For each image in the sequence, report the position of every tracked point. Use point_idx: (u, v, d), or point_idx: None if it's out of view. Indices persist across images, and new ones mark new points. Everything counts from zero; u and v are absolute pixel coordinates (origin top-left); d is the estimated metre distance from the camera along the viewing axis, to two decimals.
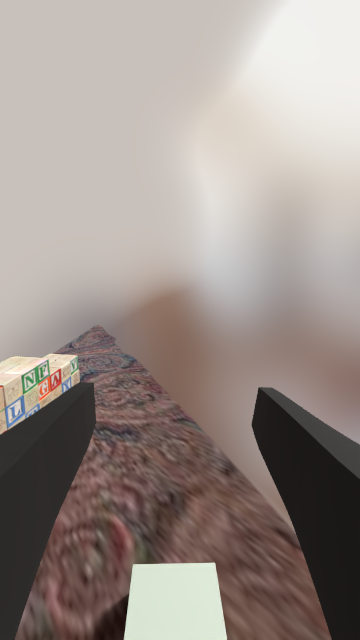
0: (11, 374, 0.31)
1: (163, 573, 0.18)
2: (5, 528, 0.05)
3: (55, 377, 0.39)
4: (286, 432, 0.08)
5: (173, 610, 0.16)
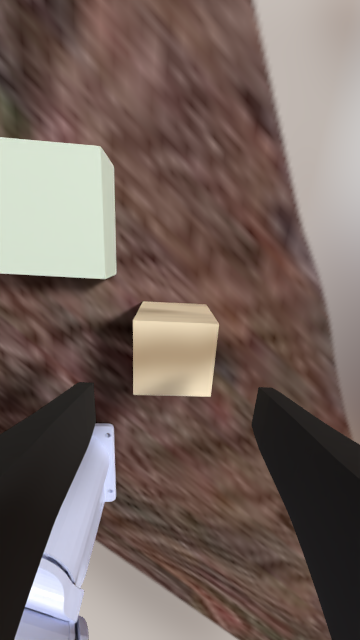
0: None
1: (15, 152, 0.12)
2: (5, 528, 0.05)
3: None
4: (286, 432, 0.08)
5: (35, 197, 0.12)
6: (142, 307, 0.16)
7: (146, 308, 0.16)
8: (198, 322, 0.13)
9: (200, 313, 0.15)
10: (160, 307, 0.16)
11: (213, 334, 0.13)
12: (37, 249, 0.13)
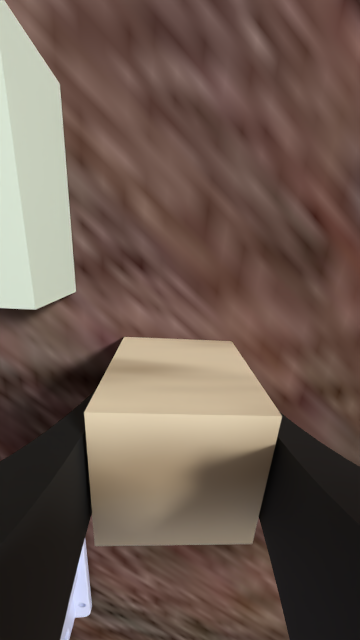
0: None
1: None
2: (56, 528, 0.05)
3: None
4: None
5: None
6: (118, 356, 0.08)
7: (125, 359, 0.08)
8: (236, 413, 0.06)
9: (229, 372, 0.08)
10: (152, 354, 0.09)
11: (267, 437, 0.06)
12: None
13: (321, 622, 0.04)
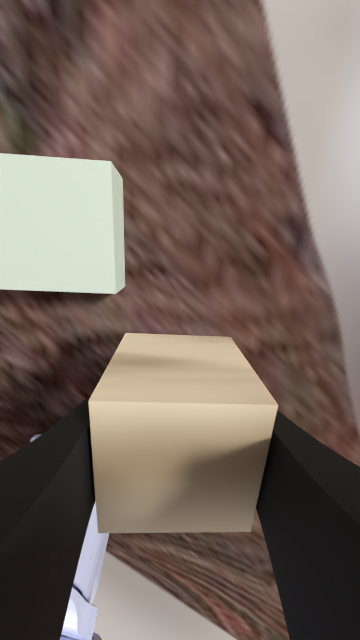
0: None
1: (25, 168, 0.12)
2: (56, 528, 0.05)
3: None
4: None
5: (45, 213, 0.12)
6: (120, 350, 0.09)
7: (127, 353, 0.08)
8: (234, 402, 0.06)
9: (228, 365, 0.08)
10: (153, 349, 0.09)
11: (264, 425, 0.06)
12: (47, 265, 0.13)
13: (322, 622, 0.04)
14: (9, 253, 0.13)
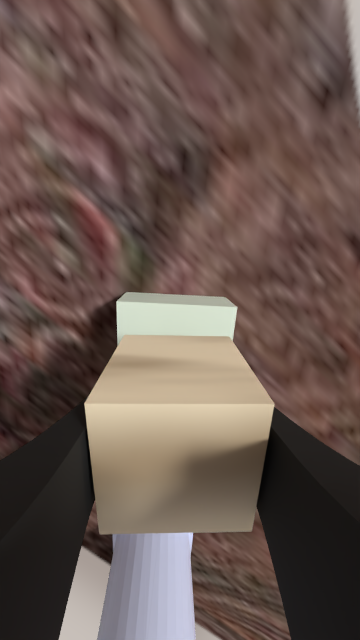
0: None
1: (161, 313, 0.13)
2: (54, 528, 0.05)
3: None
4: None
5: None
6: (118, 352, 0.09)
7: (125, 355, 0.08)
8: (229, 402, 0.06)
9: (225, 364, 0.08)
10: (151, 350, 0.09)
11: (261, 424, 0.06)
12: None
13: (324, 622, 0.04)
14: None
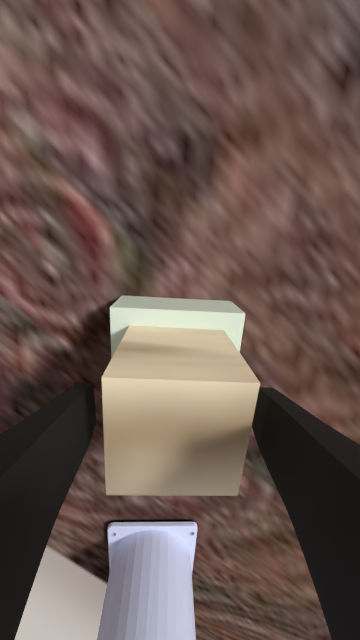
0: None
1: (160, 320, 0.12)
2: (5, 528, 0.05)
3: None
4: (286, 432, 0.08)
5: None
6: (126, 339, 0.10)
7: (132, 342, 0.10)
8: (223, 380, 0.07)
9: (220, 352, 0.09)
10: (155, 339, 0.10)
11: (249, 400, 0.07)
12: None
13: None
14: None
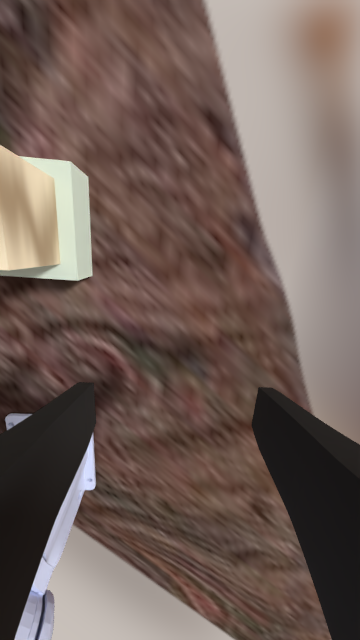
0: None
1: None
2: (5, 528, 0.05)
3: None
4: (286, 432, 0.08)
5: None
6: None
7: None
8: None
9: None
10: None
11: None
12: None
13: None
14: None
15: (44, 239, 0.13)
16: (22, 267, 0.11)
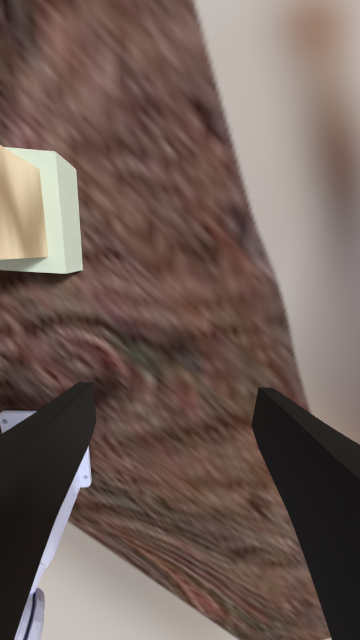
0: None
1: None
2: (5, 528, 0.05)
3: None
4: (286, 432, 0.08)
5: None
6: None
7: None
8: None
9: None
10: None
11: None
12: None
13: None
14: None
15: (29, 231, 0.13)
16: (5, 257, 0.11)
